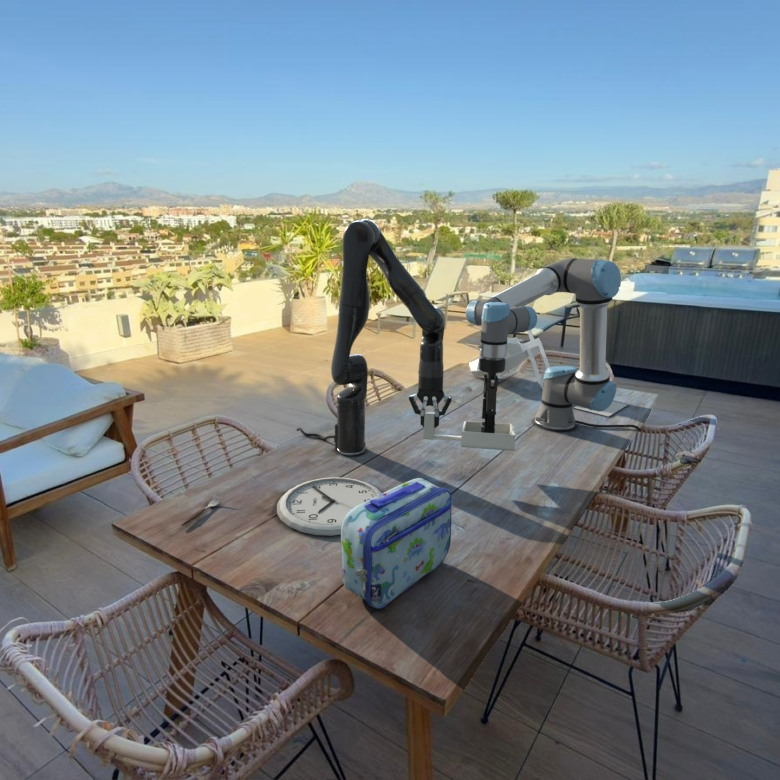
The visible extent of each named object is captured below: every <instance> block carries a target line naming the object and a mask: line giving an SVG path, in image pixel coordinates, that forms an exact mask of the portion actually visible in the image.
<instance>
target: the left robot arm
mask: <svg viewBox="0 0 780 780" xmlns="http://www.w3.org/2000/svg"><path fill="white" fill-rule="evenodd" d="M342 234H343V235H342V274H341V283H340V293H339V303H338V312H337V313H338V315H337V318H338V319H337V328H336V336H335V343H334V347H333V348H334V349H333V353H332V359H331V366H330V369H331V370H330V371H331V372H330V373H331V378H332V380H333V382H334V383H335V384H336V385H338V386H346V385H347V386H346V387H345V388H344V389H342V390H341V391H340V392H339V393H338V394H337V395H336V410H337V411H336V414H337V415H336V423H334V434H333V435H331V434H330V435H326V436H322V435H321V434H320V433H309V432H305V431H304V430H303V429H302V427H298V428H296V430H295V431H297V432H300V433H301V434H302V435H304V436H308V437H317V438H319V439H321V440H323V441H326V440H328V439H333V442H334V450H335V451H336V452H337V453H338V454H340V455H342V456H347V457H354V456H359V455H362V454H364V453H365V452H366V397H367V394H368V380H369V379H368V377H369V374H368V373H369V370H368V369H369V367H368V362H367V360H366V358H365V357H364V356H363V355H362V354H360V353H356V354H355V353H354V354H351V353H352V352H351V351H352V348H353V345H354V343H355V341H356V339H357V338H358V336H359V335H360V334H361V332H362V331H363V329H364V328H365V326H366V324H367V322H368V320H369V314H370V305H371V294H370V287H369V282H368V277H367V276H368V275H367V274H368V273H367V272H368V271H367V270H368V263H369V257H370V258H372V260H374V263H376V264H377V265H378V267H379V268H380V270H381V272H382V274H383V276H384V278H385V280H386V282H387V284H388V286H389V287H390V289H391V291H392V292H393V293H394V295H395V296H396V297H397V298H398V299H399V301H401V303H402V305H403V306H405V307H406V309H407V310H408V312H409V313H410V315H411V316H412V318H413V319H414V321H415V323H416V324H417V325H418V326H419V328H421V341H420V345H419V362H418V371H417V372H418V373H417V374H418V381H417V382H418V384H417V387H418V388H417V391H416V393H414V394H409V396H408V401H409V403H410V405H411V407H412V410H413V412H414V414H415V415H419V416H420V426H422V428H424V416H425V413H426V409H427V407H428V406H430V407H433V412H435V418H434V428H435V429H437V427H439V425H440V417H441V416H445V415H446V412H447V411H448V409H449V407H450V405H451V403H452V401H453V397H452V396H451V395H446V394H445V392H444V335H445V327H446V316H445V312H444V311H443V310H442V309H441V308H440V307H439V306H438V307H437V306H434V305H433V304H432V302H431V301H430V300H429V299H428V297H427V295H426V292H425V291H424V289H423V288H422V286H420V284H419V283H418V282H417V281H416V279H415V278H414V277H413V276H412V275H411V274H410V272H409V270H408V269H406V268H405V266H404V265H403V264H402V262H401V261H400V259H399V258H398V256H397V255H396V254H395V252H394V251H393V249H392V247H391V246H390V244H389V242H388V241H387V239H386V237H385V236H384V234H383V232H382V231H381V229H380V227H379V226H378V224H377V223H376V222H374V221H373V220H371V219H367V218H362V219H359V220H355V221H353V222H350V223H349V224H348V225H347V226H345V228H344V231H343V233H342ZM417 399H418V400H419V401H420V402H421V409H420V408H419V405H418V404H417V403H418V402H417ZM442 400H443V402H444V404H443V406H442V407H441V408H442V409H440V408H439V407H440V406H439V404H440V402H441V401H442ZM307 433H308V434H307Z"/></svg>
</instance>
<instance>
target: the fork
mask: <svg viewBox="0 0 780 780" xmlns="http://www.w3.org/2000/svg"><path fill="white" fill-rule="evenodd" d="M224 494H225V493H223V492H220V491H217V492H216V494H215V495H214V496H213V498H212V499H211V500H210V502H209V503H208V504H207V506H206V507H204V508H202V509H200V510H198V511H197V512H195V513H194V514H193V515H192V516H190V517H189V518H188V519H186V520H185V521H184V522H183V523H182V524H181V525H180V526H181V527H183V526H185V525H187V524H189V523H190V522H191V521H193V520H195V519H196V518H198V517H199V516H201V515H202V514H203V513H204V512H205V511H206V510H207V509H208V508H212V507H216V506H218V505H219V504H220V503H221V501H222V498H223V497H224Z"/></svg>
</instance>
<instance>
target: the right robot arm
mask: <svg viewBox="0 0 780 780" xmlns="http://www.w3.org/2000/svg"><path fill="white" fill-rule="evenodd" d="M621 283H622V275H621V270H620V268H619V266H618V265H617V264H616V263H615V262H614V261H612V260H605V259H602V258H601V259H597V258H594V259H593V258H577V257H570V258H564V259H561V260H558V261H555V262H552V263H550V264H548V265H545V266H543V267H541V268H540V269H538V270H537V271H536V272H535V274H534V275H532V276H530V277H529V278H526V279H525V280H523V281H520V282H518V283H517V284H515V285H512V286H511V287H509V288H507V289H505V290H503V291H500V292H499V293H497V294H495V295H493V296H491V297H489V298H487V299H486V300H480V299H479V300H472V301H470V302H469V303H468V304H467V306H466V308H465V318H466V320H467V321H468V323H469V324H472V325H476V326H477V327H478V326H479V327H481V328H480V344H479V345H478V346H477V348H478V349H479V356H480V355H481V357H480V358H479V357H478V359H479V370H481V371H483V372H485V375H484V376H483V391H482V394H483V395H482V397H483V398H482V408H481V409H482V411H481V419H482V420H485V425H484V433H494V422H495V423H496V415H497V393H498V384H499V374H496V373H501V372H503V371H504V370H505V362H506V359H505V358H504V357H506V352H507V339H508V336H509V335H514V334H520V333H526V332H527V331H529V330H531V331H532V330H533V329H534V328H535V327H536V325H537V323H538V313H537V312H536V310H535V309H534V308H533V307H532V306H530V305H529V304H531V303H533V302H534V301H537V300H538V299H540V298H542V297H544V296H552V295H554V294H556V293H567V294H575V295H574V296H575V303H576V304H577V305H578V306H579V369H578V368H577V367H576V366H571V365H570V366H569V365H555V366H554V365H553V366H550V368H547V369H546V368H545V371H544V375H543V378H542V379H543V381H542V382H543V389H542V394H541V402H540V405H539V407H538V410H537V411H536V413H535V417H534V424H535V425H536V426H537V427H539V428H542V429H544V430H549V431H556V432H567V431H572V430H574V429H575V428H576V424H578V425H583V426H587V427H591V428H592V427H593V428H604V429H605V428H607V429H609V428H610V429H611V428H633V429H636V430H637V431H640V432H641V431H642V429H641V427H639V426H638V425H635V424H596V423H588V422H584V421H580V420H577V419H576V418H575V417H576V416H575V413H574V407H573V405H574V406H581V407H584V408H587V409H589V410H594V411H599V412H601V411H604V410H606V409H607V408H608V407H609V406H610V404H611V403H612V401H614V400H615V398H616V397H615V396H616V394H617V384H616V382H614V381H613V380H610V378H611V374H610V372H609V371H608V370H607V369H606V362H607V361H606V359H607V358H606V357H607V332H608V331H607V329H608V305H609V304H610V303H612V302H613V298H614V297H616V296H617V295H618V293H619V291H620V287H621Z"/></svg>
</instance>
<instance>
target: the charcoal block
mask: <svg viewBox="0 0 780 780" xmlns="http://www.w3.org/2000/svg"><path fill="white" fill-rule="evenodd" d="M481 432H482V433H484V425H481ZM494 433H495V426H494Z"/></svg>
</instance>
